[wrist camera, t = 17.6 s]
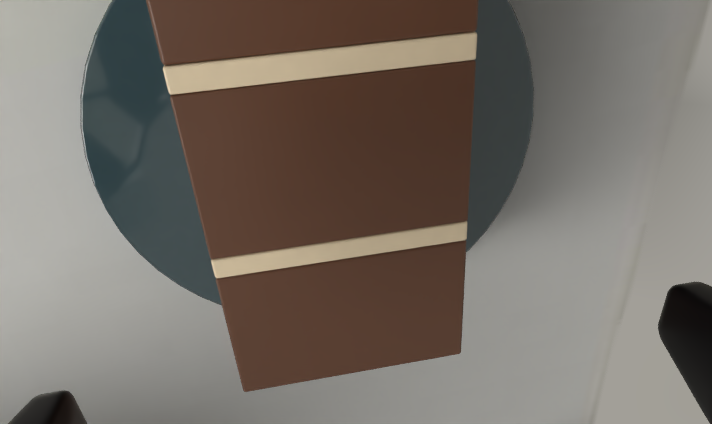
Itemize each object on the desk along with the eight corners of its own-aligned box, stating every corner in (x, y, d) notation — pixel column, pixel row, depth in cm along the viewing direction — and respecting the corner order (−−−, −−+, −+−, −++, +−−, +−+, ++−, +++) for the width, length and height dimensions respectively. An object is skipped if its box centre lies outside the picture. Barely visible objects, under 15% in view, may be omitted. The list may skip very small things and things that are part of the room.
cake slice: (461, 354, 14) (496, -310, 7) (243, 393, 13) (70, -295, 7) (419, 262, 17) (417, -248, 11) (244, 290, 17) (129, -235, 10)
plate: (131, 315, 18) (126, 335, 17) (34, -123, 11) (19, -123, 11) (485, 287, 20) (495, 303, 19) (562, -100, 13) (582, -98, 13)
